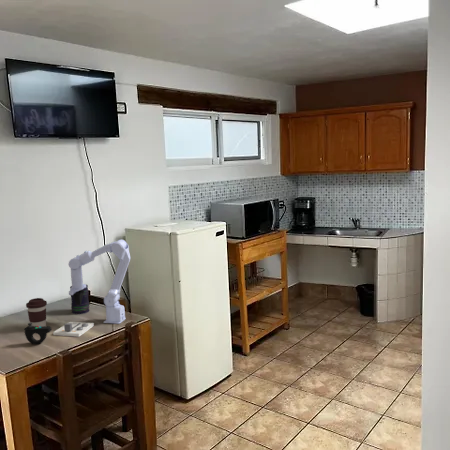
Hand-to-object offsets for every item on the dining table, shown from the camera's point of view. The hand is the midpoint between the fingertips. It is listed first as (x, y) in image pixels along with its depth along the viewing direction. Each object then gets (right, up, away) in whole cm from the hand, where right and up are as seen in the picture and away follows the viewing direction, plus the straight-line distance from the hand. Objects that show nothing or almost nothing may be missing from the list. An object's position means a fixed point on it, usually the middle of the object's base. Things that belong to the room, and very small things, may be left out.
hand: (78, 304), depth 246 cm
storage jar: (-4, -7, +18) cm, 20 cm away
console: (+1, -11, -12) cm, 17 cm away
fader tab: (0, -10, -17) cm, 20 cm away
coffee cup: (-19, -11, -7) cm, 23 cm away
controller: (-10, -14, -28) cm, 33 cm away
